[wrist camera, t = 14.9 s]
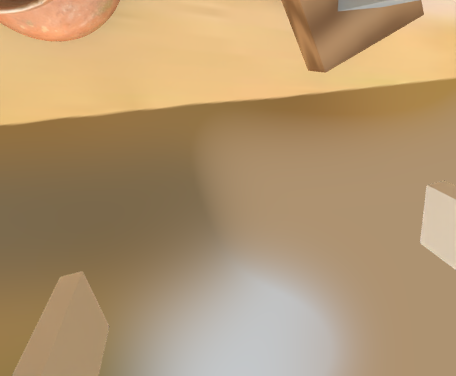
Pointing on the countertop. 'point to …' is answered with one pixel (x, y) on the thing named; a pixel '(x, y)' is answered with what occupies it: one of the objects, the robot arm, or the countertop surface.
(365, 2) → the pillar
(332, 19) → the walnut slab
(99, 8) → the ceramic jug
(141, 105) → the countertop surface
